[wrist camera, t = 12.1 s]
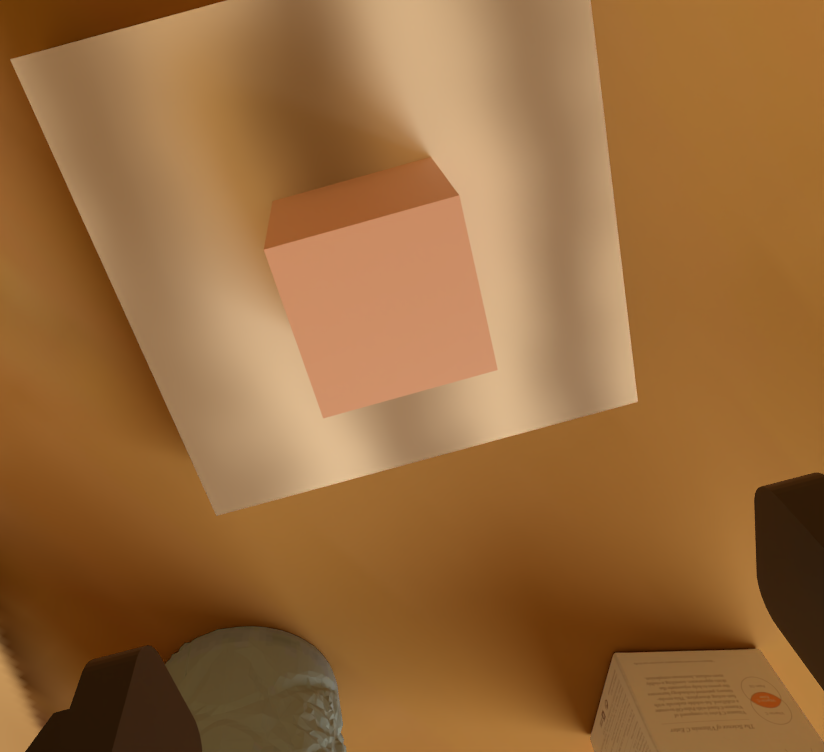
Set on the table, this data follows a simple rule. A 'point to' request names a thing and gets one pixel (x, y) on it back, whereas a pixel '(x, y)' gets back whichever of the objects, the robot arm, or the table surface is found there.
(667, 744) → the small box
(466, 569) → the table surface
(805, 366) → the table surface
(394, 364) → the terracotta cube
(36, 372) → the table surface
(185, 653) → the grey cylindrical piece
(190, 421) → the maple base
